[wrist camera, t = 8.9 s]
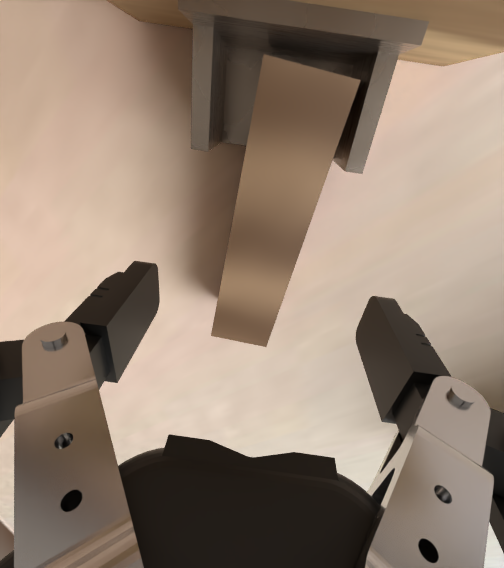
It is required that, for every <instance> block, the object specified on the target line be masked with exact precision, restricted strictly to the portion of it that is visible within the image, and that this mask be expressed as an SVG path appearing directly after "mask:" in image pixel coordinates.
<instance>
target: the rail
mask: <svg viewBox="0 0 504 568" xmlns="http://www.w3.org/2000/svg"><path fill="white" fill-rule="evenodd" d="M360 81H361V80H358V79H354V78H351V77H347V76H343V75H339V74H336V73H332V72H328V71H325V70H321V69H317V68H313V67H310V66H306V65H302V64H299V63H295V62H291V61H287V60H284V59H280V58H276V57H273V56H269V55H265V54H264V55H263V60H262V65H261V71H260V76H259V82H258V87H257V92H256V98H255V103H254V108H253V114H252V119H251V124H250V130H249V135H248V140H247V146H246V151H245V157H244V162H243V167H242V173H241V178H240V183H239V189H238V194H237V199H236V205H235V210H234V215H233V221H232V226H231V232H230V237H229V242H228V248H227V253H226V258H225V264H224V269H223V274H222V280H221V285H220V291H219V296H218V301H217V307H216V312H215V317H214V323H213V328H212V333H211V336H215V337H220V338H225V339H230V340H235V341H240V342H244V343H249V344H254V345H259V346H264V347H266V346H267V343H268V340H269V337H270V334H271V332H272V329H273V326H274V323H275V320H276V318H277V315H278V312H279V309H280V306H281V303H282V301H283V298H284V295H285V292H286V289H287V287H288V284H289V281H290V278H291V275H292V272H293V270H294V267H295V264H296V261H297V258H298V256H299V253H300V250H301V247H302V244H303V241H304V239H305V236H306V233H307V230H308V227H309V225H310V222H311V219H312V216H313V213H314V210H315V208H316V205H317V202H318V199H319V196H320V194H321V191H322V188H323V185H324V182H325V179H326V177H327V174H328V171H329V168H330V165H331V162H332V160H333V157H334V154H335V151H336V148H337V146H338V143H339V140H340V137H341V134H342V131H343V129H344V126H345V123H346V120H347V117H348V115H349V112H350V109H351V106H352V103H353V100H354V98H355V95H356V92H357V89H358V86H359V84H360Z"/></svg>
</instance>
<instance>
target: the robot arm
mask: <svg viewBox="0 0 504 568" xmlns="http://www.w3.org/2000/svg"><path fill="white" fill-rule="evenodd" d="M158 307H159V280H158V267H157V265H156V264H154V263H147V262H140V261H134V262H133V263H132V264H131V265H130V266H129V267H128V268H127V270H126V271H125V272H124V273H123V272H117V273H115V274H113V275H111V276H109V277H108V278H106V279H105V280H104V281H103V282H102V283H101V284H100V285H99V286H98V287H97V289H95V290H94V291H93V292H92V293H91V295H90V296H88V297H87V298H86V299H85V301H84V302H83V303H82V304H81V305H80V306H79V307H78V308H77V309H76V310H75V311H74V312H73V313H72V314H71V315H70V316H69V317H68V318H67V319H66V320H65V321H64V322H55V323H50V324H47V325H44V326H42V327H40V328H38V329H36V330H34V331H33V332H31V333H30V334H29V335H28V336H27V337H26V338H25V340H16V341H5V342H0V437H1V436H2V434H3V433H4V432H5V430H6V429H7V428H8V426H9V425H10V424H11V422H12V421H13V420H14V419H15V420H14V550H13V551H12V552H11V553H9V554H8V555H7V556H5V557H4V558H3V559H2V560H1V561H0V568H484V560H485V551H486V543H487V535H488V527H489V522H490V524H491V526H492V528H493V531H494V533H495V535H496V537H497V539H498V542H499V544H500V546H501V548H502V550H503V553H504V413H502V412H499V411H496V410H494V409H491V408H490V407H489V405H488V403H487V401H486V400H485V399H484V397H483V396H482V395H481V394H480V393H479V392H478V391H477V390H475V389H474V388H473V387H471V386H470V385H468V384H467V383H465V382H463V381H461V380H459V379H456V378H453V377H451V375H450V374H449V372H448V371H447V369H446V367H445V366H444V364H443V363H442V361H441V359H440V358H439V356H438V355H437V353H436V351H435V350H434V348H433V347H432V346H431V343H430V342H429V340H428V339H427V337H425V334H424V332H423V331H422V329H421V328H420V326H419V324H417V323H416V322H415V321H414V320H413V319H412V318H411V317H410V316H408V315H407V314H404V313H403V312H402V310H401V308H400V307H399V305H398V303H397V302H396V300H395V299H391V298H384V297H377V296H372V297H371V298H370V299H369V301H368V304H367V306H366V308H365V311H364V313H363V315H362V318H361V320H360V323H359V325H358V327H357V331H356V343H357V347H358V350H359V353H360V356H361V359H362V362H363V365H364V368H365V371H366V374H367V377H368V381H369V384H370V387H371V390H372V393H373V396H374V399H375V402H376V405H377V408H378V411H379V414H380V417H381V420H382V422H387V423H394V424H397V426H398V429H399V431H398V432H397V433H396V435H395V437H394V439H393V441H392V443H391V445H390V447H389V449H388V451H387V453H386V456H385V458H384V460H383V462H382V464H381V466H380V468H379V470H378V472H377V475H376V477H375V479H374V481H373V483H372V484H371V486H370V488H369V489H368V491H367V492H366V491H365V490H364V489H362V488H361V487H360V486H359V485H357V484H356V483H354V482H353V481H352V480H350V479H348V478H346V477H345V476H343V475H341V474H339V473H337V470H336V464H335V458H331V457H324V456H317V455H310V454H303V453H296V452H292V453H285V454H277V455H270V456H263V457H254V458H252V457H248V456H245V455H243V454H240V453H238V452H236V451H233V450H231V449H229V448H226V447H224V446H222V445H219V444H217V443H215V442H213V441H210V440H204V439H197V438H190V437H183V436H176V435H169V436H168V439H167V442H166V445H165V448H159V449H155V450H151V451H147V452H144V453H142V454H139V455H137V456H135V457H133V458H131V459H129V460H127V461H125V462H123V463H122V464H120V465H119V466H118V464H117V460H116V456H115V452H114V448H113V444H112V441H111V437H110V433H109V429H108V425H107V421H106V417H105V413H104V409H103V405H102V401H101V397H100V393H99V389H100V387H101V386H102V384H103V382H104V381H108V382H115V383H118V381H119V379H120V377H121V376H122V374H123V372H124V370H125V368H126V367H127V365H128V363H129V361H130V360H131V358H132V356H133V354H134V352H135V351H136V349H137V347H138V345H139V344H140V342H141V340H142V338H143V337H144V335H145V333H146V331H147V329H148V328H149V326H150V324H151V322H152V321H153V319H154V317H155V315H156V313H157V311H158Z"/></svg>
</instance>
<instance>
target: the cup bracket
mask: <svg viewBox="0 0 504 568" xmlns="http://www.w3.org/2000/svg"><path fill="white" fill-rule="evenodd" d="M178 10H179V11H180V12H181V13H182V14H183V15H184V16H185V17H186V18H187V19H188V20H189V21H190V22H191V23H192V24H193V40H192V115H191V149H194V150H201V151H210V150H211V149H213V148H214V147H216V146H217V145H219V144H220V143H222V142H225V143H231V144H238V145H245V146H247V140H248V135H249V130H250V124H251V119H252V114H253V108H254V103H255V98H256V92H257V87H258V82H259V76H260V71H261V65H262V60H263V55H264V54H265V55H269V56H273V57H276V58H280V59H284V60H287V61H291V62H295V63H299V64H302V65H306V66H310V67H313V68H317V69H321V70H325V71H328V72H332V73H336V74H339V75H343V76H347V77H351V78H354V79H358V80H361V81H360V84H359V86H358V89H357V92H356V95H355V98H354V100H353V103H352V106H351V109H350V112H349V115H348V117H347V120H346V123H345V126H344V129H343V131H342V134H341V137H340V140H339V143H338V146H337V148H336V151H335V154H334V157H333V161H334V162H335V163H336V164H338V165H339V166H340V167H341V168H342V169H343V170H344V171H346V172H353V173H360V174H362V173H363V169H364V166H365V163H366V160H367V156H368V153H369V150H370V147H371V143H372V140H373V137H374V134H375V130H376V127H377V124H378V121H379V117H380V114H381V111H382V108H383V105H384V101H385V98H386V95H387V92H388V88H389V85H390V82H391V79H392V75H393V72H394V69H395V66H396V62H397V59H398V56H399V55H400V54H402V53H405V52H407V51H409V50H412V49H414V48H417V47H419V46H421V45H422V42H423V39H424V36H425V33H426V30H427V27H428V24H429V21H423V20H416V19H410V18H403V17H396V16H390V15H383V14H376V13H370V12H363V11H356V10H350V9H343V8H336V7H330V6H323V5H317V4H310V3H303V2H297V1H290V0H178Z"/></svg>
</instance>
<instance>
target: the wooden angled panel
mask: <svg viewBox="0 0 504 568" xmlns="http://www.w3.org/2000/svg"><path fill="white" fill-rule="evenodd" d="M107 1H109V2H110V3H112V4H113V5H115V6H116V7H118V8H120V9H121V10H123V11H124V12H126V13H127V14H129V15H131V16H132V17H134V18H135V19H137V20H138V21H143V22H150V23H156V24H163V25H170V26H177V27H183V28H190V29H193V24H192V23H191V22H190V21H189V20H188V19H187V18H186V17H185V16H184V15H183V14H182V13H181V12H180V11H179V10H178V0H107ZM290 1H297V2H303V3H310V4H317V5H323V6H330V7H336V8H343V9H350V10H356V11H363V12H370V13H376V14H383V15H390V16H396V17H403V18H410V19H416V20H423V21H429V24H428V27H427V30H426V33H425V36H424V39H423V42H422V45H421V46H419V47H417V48H414V49H412V50H409V51H407V52H405V53H402V54H400V55H399V56H398V60H405V61H412V62H418V63H425V64H432V65H439V66H447V65H451V64H455V63H460V62H464V61H468V60H472V59H476V58H480V57H485V56H489V55H493V54H497V53H501V52H504V0H290Z"/></svg>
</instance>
